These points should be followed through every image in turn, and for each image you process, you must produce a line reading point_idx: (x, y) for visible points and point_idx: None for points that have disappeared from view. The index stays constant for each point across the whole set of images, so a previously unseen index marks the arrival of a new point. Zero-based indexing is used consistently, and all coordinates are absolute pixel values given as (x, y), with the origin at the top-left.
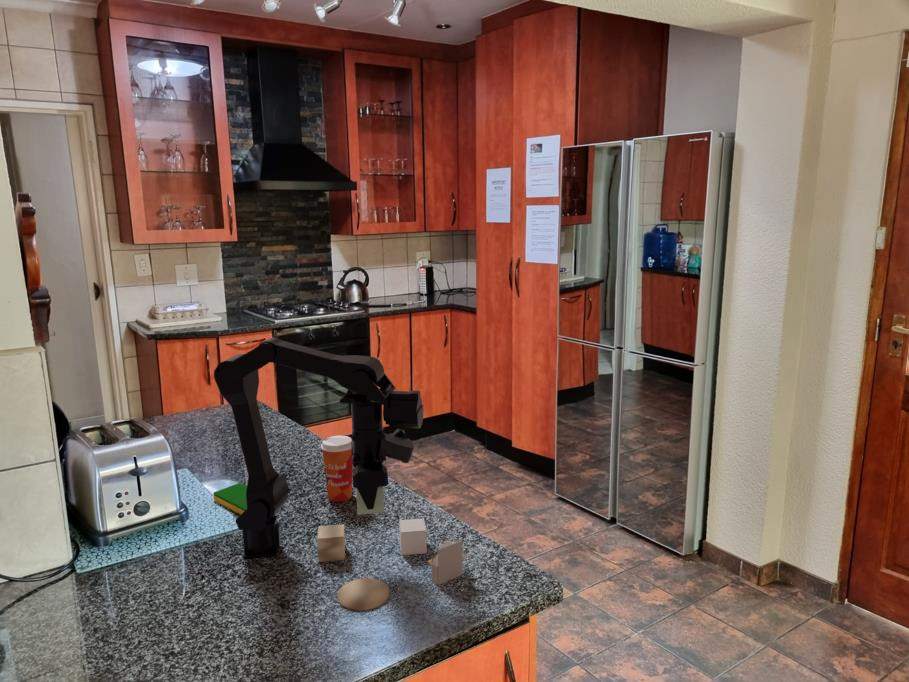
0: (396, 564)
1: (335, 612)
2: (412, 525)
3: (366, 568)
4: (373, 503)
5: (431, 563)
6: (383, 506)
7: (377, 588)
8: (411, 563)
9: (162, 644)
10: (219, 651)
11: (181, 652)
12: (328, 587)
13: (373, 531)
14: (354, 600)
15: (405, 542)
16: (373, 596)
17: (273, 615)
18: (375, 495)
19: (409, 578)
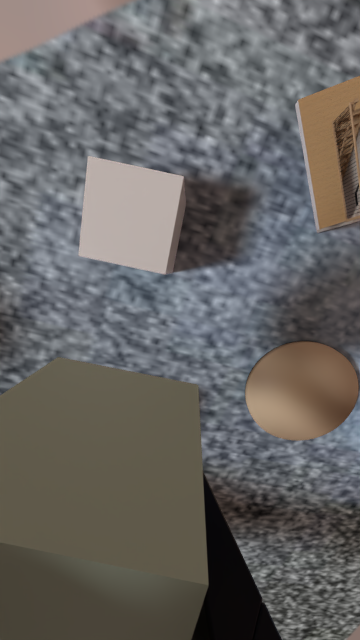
0: (209, 295)
1: (327, 446)
2: (131, 219)
3: (200, 362)
4: (214, 503)
5: (340, 222)
6: (198, 409)
7: (300, 365)
8: (219, 259)
9: (281, 637)
10: (335, 591)
11: (311, 623)
12: (239, 442)
13: (38, 308)
14: (319, 416)
15: (171, 260)
16: (326, 380)
17: (283, 527)
18: (257, 597)
19: (282, 283)
